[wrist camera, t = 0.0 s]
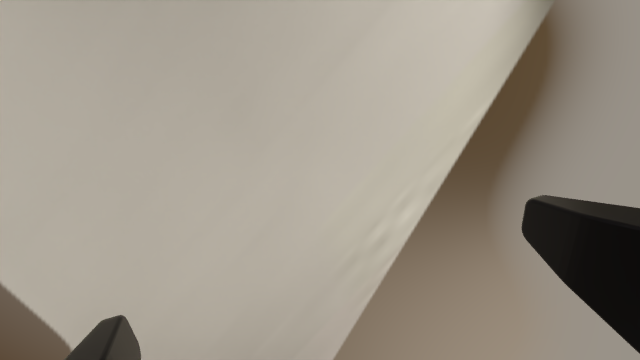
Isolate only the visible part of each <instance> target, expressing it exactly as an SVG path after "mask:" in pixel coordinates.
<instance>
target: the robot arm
mask: <svg viewBox="0 0 640 360" xmlns="http://www.w3.org/2000/svg"><path fill="white" fill-rule="evenodd" d="M522 233H523V235H524V237H525V239H526V240H527V241H528V242H529V243H530V245H531V246H532V247H533V248H534V249H535V250H536V251H537V253H538V254H539V255H540V256H541V257H542V258H543V259H544V261H545V262H546V263H547V264H548V265H549V266H550V267H551V269H552V270H553V271H554V272H555V273H556V274H557V275H558V276H559V278H560V279H561V280H562V281H563V282H564V283H565V284H566V285H567V286H568V287H569V288H570V289H571V290H572V291H573V292H574V293H575V294H577V295H578V296H579V297H580V298H581V299H582V300H583V301H584V302H585V303H586V304H587V305H588V306H589V307H590V308H591V309H592V310H594V311H595V312H596V313H597V314H598V315H599V316H600V317H601V318H602V319H603V320H604V321H605V322H607V324H609V325H610V326H611V327H612V328H613V329H614V330H615V331H616V332H617V333H618V334H619V335H620V336H621V337H622V338H623V339H625V340H626V341H627V342H628V343H629V344H630V345H631V346H632V347H633V348H634V349H635V350H636V351H637V352H639V353H640V208H633V207H627V206H619V205H612V204H605V203H597V202H590V201H583V200H576V199H568V198H561V197H554V196H547V195H542V196H538V197H535V198H531V199H529V200H528V201H527V202H526V205H525V210H524V216H523V221H522ZM64 360H141V353H140V347H139V343H138V341H137V339H136V337H135V335H134V333H133V330H132V328H131V326H130V324H129V322H128V320H127V319H126V317H125V316H123V315H119V316H115V317H112V318H108V319H105V320H102V321H101V322H100V323H99V324H98V325H97V326H96V327H95V328H94V329H93V330H92V331H91V332H90V333H89V334H88V335H87V336H86V337H85V338H84V340H83V341H82V342H81V343H80V344H79V345H78V346H77V347H76V348H75V349H74V350H73V351H72V352H71V353H70V354H69V355H68V356H67V358H65V359H64Z"/></svg>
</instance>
